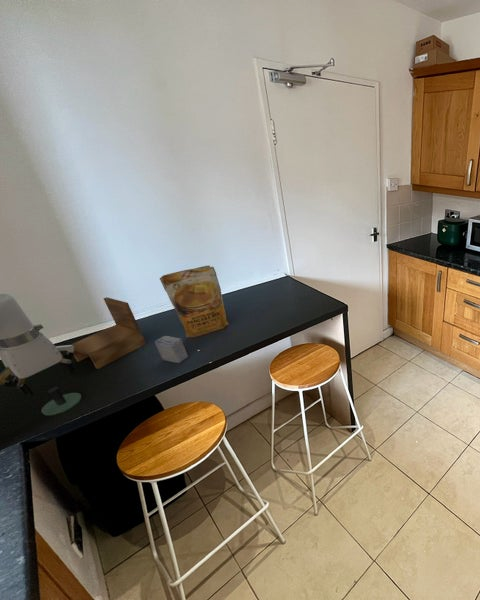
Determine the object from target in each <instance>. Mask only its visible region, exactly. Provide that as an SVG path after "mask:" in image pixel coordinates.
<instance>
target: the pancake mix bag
mask: <svg viewBox="0 0 480 600" xmlns="http://www.w3.org/2000/svg"><path fill="white" fill-rule="evenodd" d="M217 275H218V274H217V271H216V270H215V266H211V265H204V266H198V267H195V268H190V269H189V268H188V269H184V270H180V271H175V272H171V273H166V274H163V275H162V276H160V278H159V280H160V283H161V284H162V288H163V289H164V291H165V292H166V294H167V296H168V299H169V302H171V305H172V307H173V308H174V310H175V311H176V313H177V316H178V319H179V320H180V322H181V324H182V326H183V328H184V331H185V338H193V339H194V338H198V337H202V336H205V335H207V334H212V333H214V332H217V331H221V330H223V329H225V328H226V327H227V326H229V322H228V320H227V316H226V310H225V306H224V299H223V294H222V289H221V285H220V281H219V279H218V276H217Z"/></svg>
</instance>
